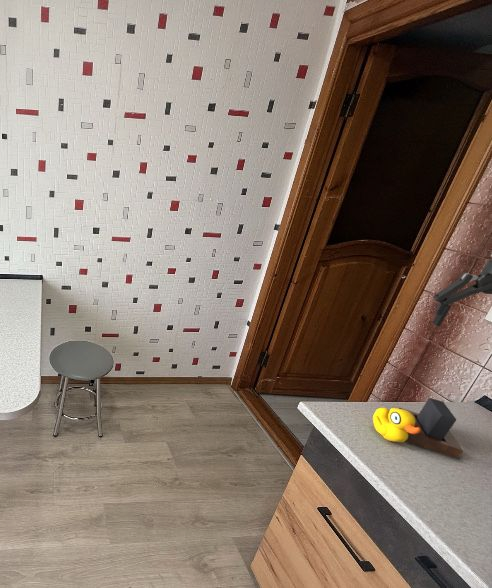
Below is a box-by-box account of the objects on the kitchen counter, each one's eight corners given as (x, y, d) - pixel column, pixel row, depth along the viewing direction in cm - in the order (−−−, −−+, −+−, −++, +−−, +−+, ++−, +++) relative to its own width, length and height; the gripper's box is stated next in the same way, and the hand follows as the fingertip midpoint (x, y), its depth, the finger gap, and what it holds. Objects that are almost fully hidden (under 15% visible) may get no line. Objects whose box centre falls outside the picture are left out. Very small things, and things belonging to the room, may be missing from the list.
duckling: (414, 456, 86) (434, 427, 82) (393, 453, 86) (411, 424, 82) (381, 423, 97) (397, 396, 93) (362, 421, 97) (377, 394, 93)
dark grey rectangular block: (425, 428, 96) (443, 401, 92) (436, 447, 90) (456, 419, 85) (412, 424, 97) (429, 397, 93) (422, 442, 91) (441, 415, 87)
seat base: (437, 428, 96) (443, 421, 95) (457, 458, 86) (463, 450, 85) (394, 415, 100) (399, 407, 99) (408, 442, 90) (413, 434, 89)
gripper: (568, 268, 86) (518, 338, 94) (442, 249, 96) (407, 314, 105) (592, 276, 80) (536, 350, 88) (454, 255, 90) (416, 323, 98)
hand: (466, 331), depth 96 cm, fingers open, 13 cm apart
